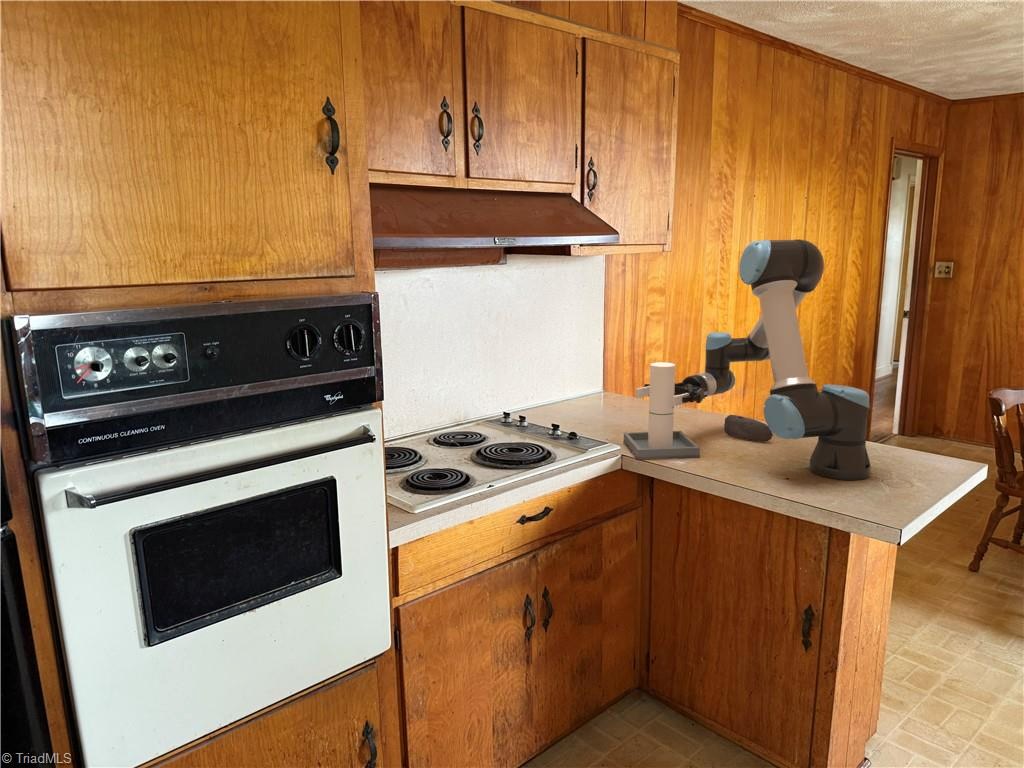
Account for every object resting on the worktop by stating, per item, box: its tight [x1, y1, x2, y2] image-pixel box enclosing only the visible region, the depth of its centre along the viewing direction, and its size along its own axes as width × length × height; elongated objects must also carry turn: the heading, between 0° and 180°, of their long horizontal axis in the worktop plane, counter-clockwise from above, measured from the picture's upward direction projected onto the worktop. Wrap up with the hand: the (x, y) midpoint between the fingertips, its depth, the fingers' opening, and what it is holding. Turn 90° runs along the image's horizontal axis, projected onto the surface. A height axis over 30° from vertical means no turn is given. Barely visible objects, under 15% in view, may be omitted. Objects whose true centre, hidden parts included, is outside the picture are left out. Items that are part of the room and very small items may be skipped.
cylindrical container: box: [647, 361, 676, 448], centre depth 214 cm, size 7×7×25 cm
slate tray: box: [623, 430, 701, 461], centre depth 217 cm, size 18×18×3 cm
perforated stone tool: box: [723, 414, 774, 443], centre depth 225 cm, size 15×5×7 cm, turn 46°
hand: (654, 397), depth 211 cm, fingers open, 13 cm apart
